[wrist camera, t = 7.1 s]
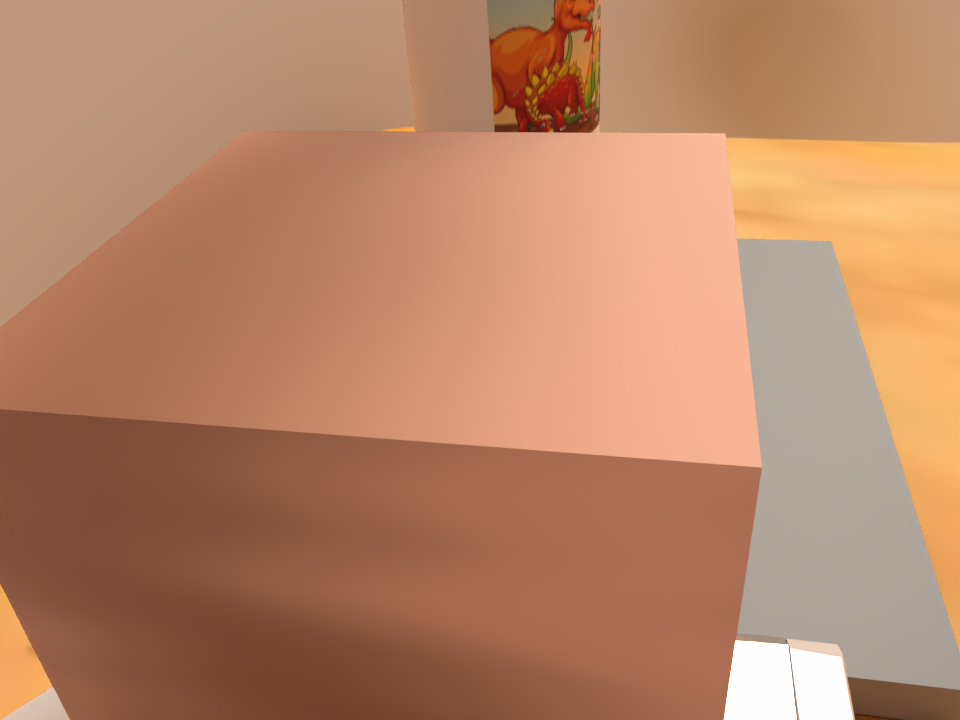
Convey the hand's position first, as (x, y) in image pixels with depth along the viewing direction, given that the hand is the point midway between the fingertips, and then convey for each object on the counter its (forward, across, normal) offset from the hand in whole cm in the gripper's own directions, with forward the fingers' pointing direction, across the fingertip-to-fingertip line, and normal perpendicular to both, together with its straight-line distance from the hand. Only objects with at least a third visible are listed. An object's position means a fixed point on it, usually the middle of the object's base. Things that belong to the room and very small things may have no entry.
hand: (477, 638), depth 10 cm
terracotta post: (-1, 0, +7) cm, 7 cm away
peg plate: (+14, +2, +7) cm, 15 cm away
